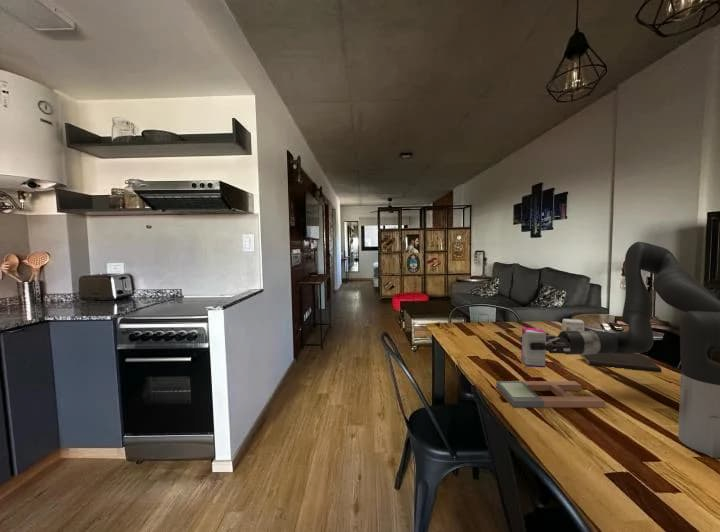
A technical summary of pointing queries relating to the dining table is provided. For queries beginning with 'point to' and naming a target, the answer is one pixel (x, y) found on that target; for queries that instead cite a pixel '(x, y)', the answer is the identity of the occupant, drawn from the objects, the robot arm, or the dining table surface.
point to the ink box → (572, 325)
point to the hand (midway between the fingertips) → (525, 343)
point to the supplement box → (533, 356)
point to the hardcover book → (621, 361)
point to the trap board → (526, 397)
